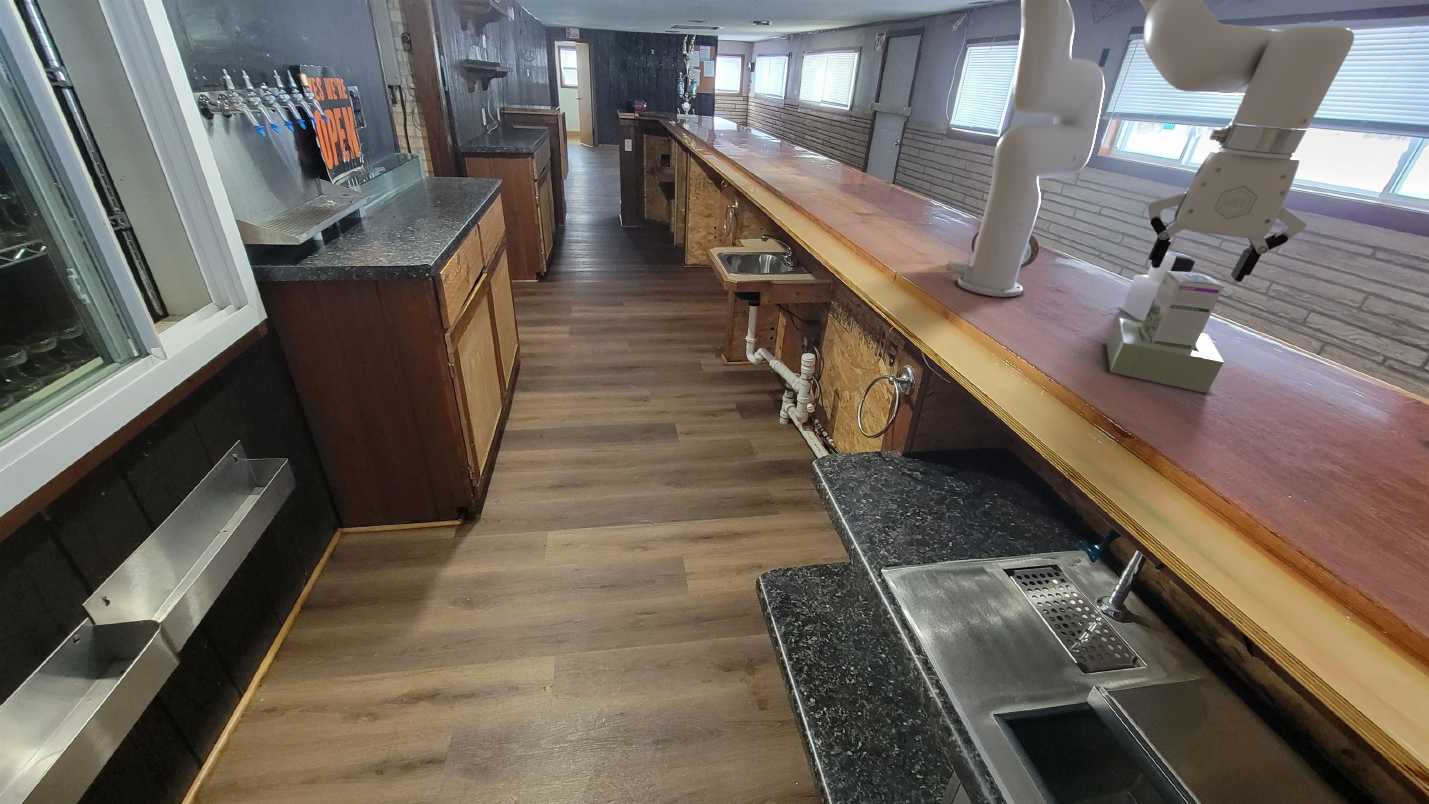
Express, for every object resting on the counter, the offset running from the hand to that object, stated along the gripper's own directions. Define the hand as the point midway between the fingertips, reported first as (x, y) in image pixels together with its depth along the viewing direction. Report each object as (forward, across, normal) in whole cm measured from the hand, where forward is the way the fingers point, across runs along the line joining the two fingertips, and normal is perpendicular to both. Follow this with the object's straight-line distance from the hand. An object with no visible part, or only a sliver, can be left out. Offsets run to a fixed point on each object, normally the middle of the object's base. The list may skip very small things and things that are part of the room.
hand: (1194, 272), depth 81 cm
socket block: (+15, +1, -1) cm, 15 cm away
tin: (+17, -26, +49) cm, 58 cm away
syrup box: (+15, +1, -1) cm, 15 cm away
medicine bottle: (+16, +3, +27) cm, 32 cm away
